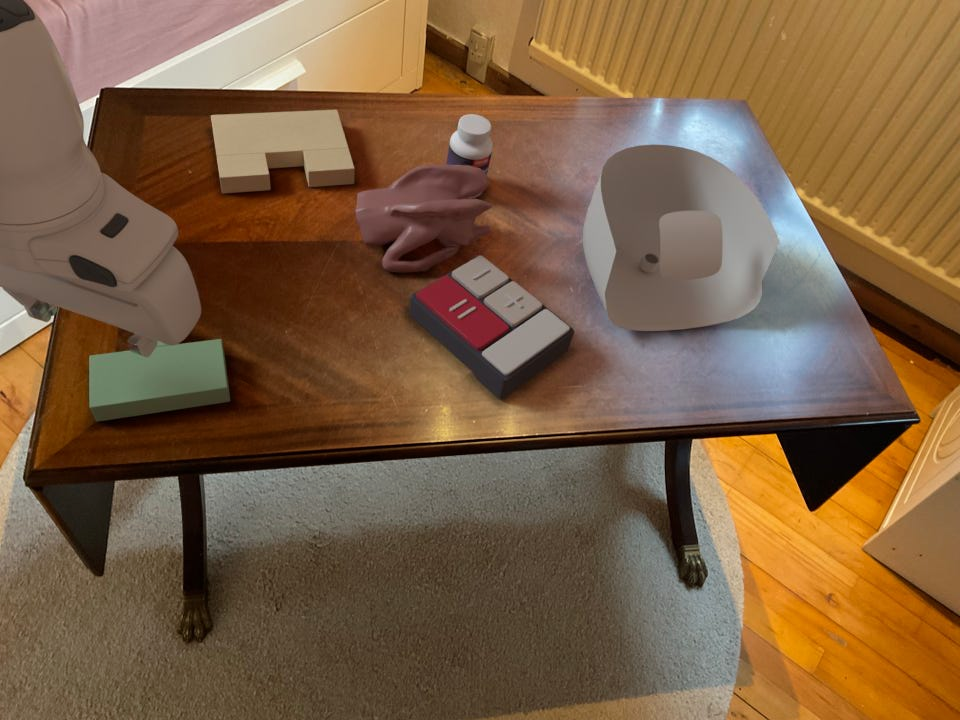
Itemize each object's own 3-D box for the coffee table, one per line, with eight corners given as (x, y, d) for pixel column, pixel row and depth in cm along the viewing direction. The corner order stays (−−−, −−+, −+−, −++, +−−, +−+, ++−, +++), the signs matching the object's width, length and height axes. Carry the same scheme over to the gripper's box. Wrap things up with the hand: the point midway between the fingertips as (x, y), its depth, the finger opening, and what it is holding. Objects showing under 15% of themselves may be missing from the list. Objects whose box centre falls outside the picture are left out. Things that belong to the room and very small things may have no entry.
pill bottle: (471, 206, 95) (483, 143, 87) (435, 188, 96) (444, 124, 88) (491, 184, 98) (504, 122, 90) (456, 167, 99) (467, 104, 91)
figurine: (388, 297, 89) (508, 267, 85) (349, 239, 81) (478, 203, 77) (394, 227, 96) (504, 196, 92) (358, 168, 88) (476, 131, 84)
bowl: (689, 215, 101) (726, 143, 91) (749, 324, 90) (797, 256, 81) (551, 220, 95) (575, 145, 86) (597, 337, 85) (629, 266, 75)
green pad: (96, 422, 69) (89, 407, 67) (95, 340, 74) (89, 324, 72) (230, 401, 73) (227, 387, 71) (220, 324, 78) (217, 309, 76)
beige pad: (222, 193, 89) (219, 177, 87) (213, 131, 96) (210, 114, 94) (354, 184, 94) (354, 168, 92) (337, 125, 100) (337, 109, 98)
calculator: (481, 248, 85) (578, 325, 79) (476, 275, 89) (569, 351, 83) (408, 291, 80) (507, 377, 74) (407, 317, 83) (501, 402, 77)
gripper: (-122, 194, 52) (-41, 319, 63) (148, 286, 50) (182, 397, 61) (-56, 143, 55) (9, 269, 66) (196, 227, 54) (220, 342, 65)
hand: (94, 331), depth 64 cm, fingers open, 8 cm apart
